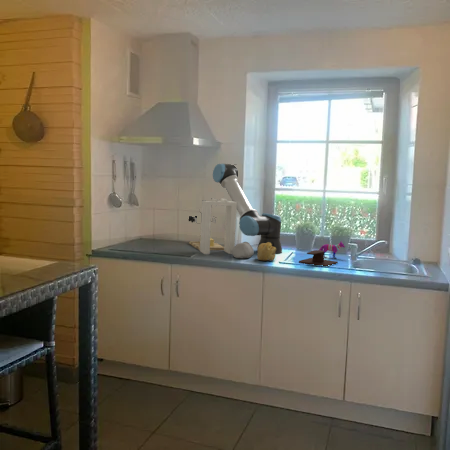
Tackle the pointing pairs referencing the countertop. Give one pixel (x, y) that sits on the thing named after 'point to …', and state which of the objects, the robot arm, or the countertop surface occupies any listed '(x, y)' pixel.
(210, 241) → the bar
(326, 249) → the toy dog
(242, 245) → the decorative stone
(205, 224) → the bridge
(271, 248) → the stone
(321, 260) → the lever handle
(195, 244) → the board
